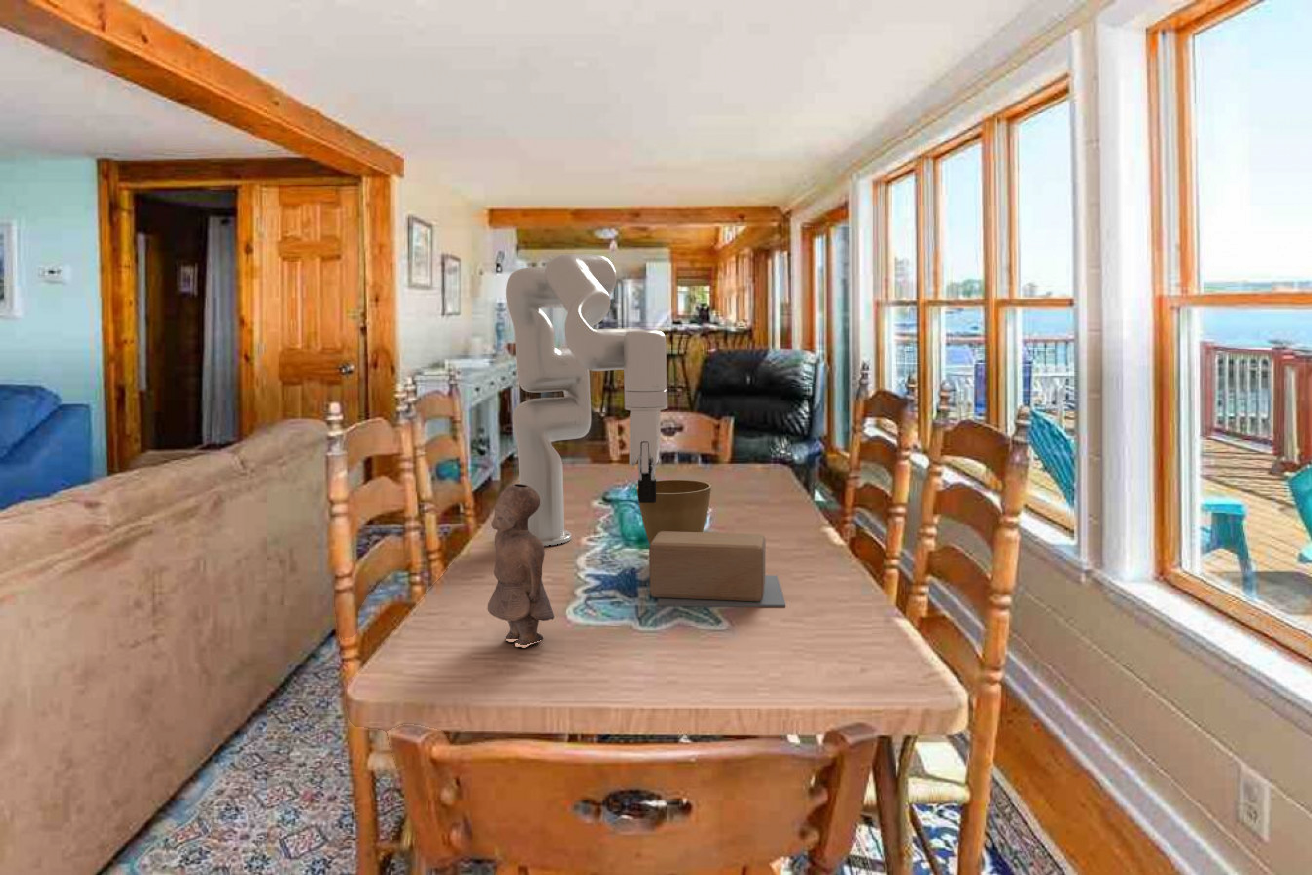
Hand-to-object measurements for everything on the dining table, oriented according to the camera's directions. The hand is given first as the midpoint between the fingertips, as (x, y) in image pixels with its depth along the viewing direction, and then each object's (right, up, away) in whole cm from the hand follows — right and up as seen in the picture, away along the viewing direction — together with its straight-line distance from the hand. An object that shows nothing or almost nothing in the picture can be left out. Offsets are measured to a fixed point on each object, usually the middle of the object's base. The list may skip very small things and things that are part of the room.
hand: (647, 501), depth 162 cm
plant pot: (+5, -14, +20) cm, 25 cm away
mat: (+13, -16, +2) cm, 21 cm away
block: (+1, -11, +1) cm, 11 cm away
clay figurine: (-19, -21, -22) cm, 36 cm away
